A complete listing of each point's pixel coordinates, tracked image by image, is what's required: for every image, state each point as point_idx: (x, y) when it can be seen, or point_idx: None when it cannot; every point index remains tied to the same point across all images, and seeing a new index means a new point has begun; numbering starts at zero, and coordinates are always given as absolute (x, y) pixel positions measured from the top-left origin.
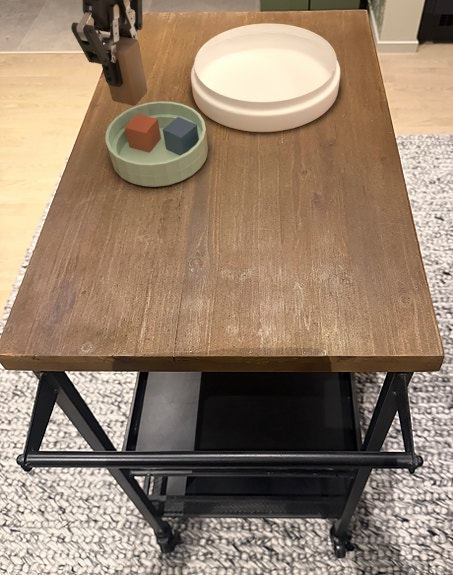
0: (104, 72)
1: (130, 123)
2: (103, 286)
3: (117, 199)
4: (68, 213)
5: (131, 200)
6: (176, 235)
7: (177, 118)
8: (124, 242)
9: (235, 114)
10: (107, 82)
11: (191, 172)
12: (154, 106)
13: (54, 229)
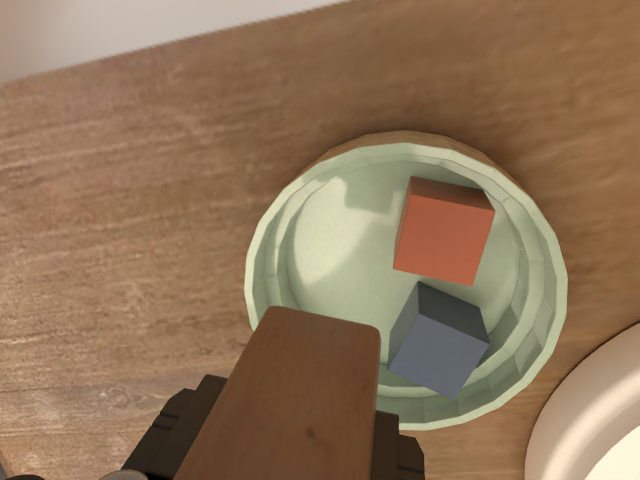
0: (146, 437)
1: (436, 206)
2: (7, 257)
3: (219, 205)
4: (138, 97)
5: (226, 239)
6: (164, 355)
7: (479, 344)
8: (111, 262)
9: (545, 462)
10: (178, 396)
11: None
12: (548, 256)
13: (81, 86)
